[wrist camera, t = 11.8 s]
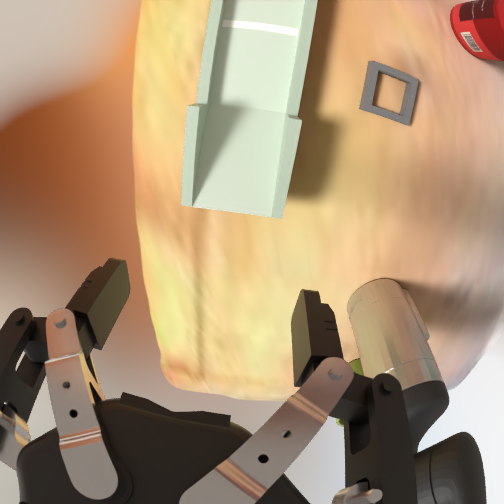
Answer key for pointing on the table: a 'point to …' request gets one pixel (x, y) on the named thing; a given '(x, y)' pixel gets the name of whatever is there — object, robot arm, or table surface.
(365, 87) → the grey picture frame
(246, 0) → the lane
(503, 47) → the canned food
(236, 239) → the table surface
